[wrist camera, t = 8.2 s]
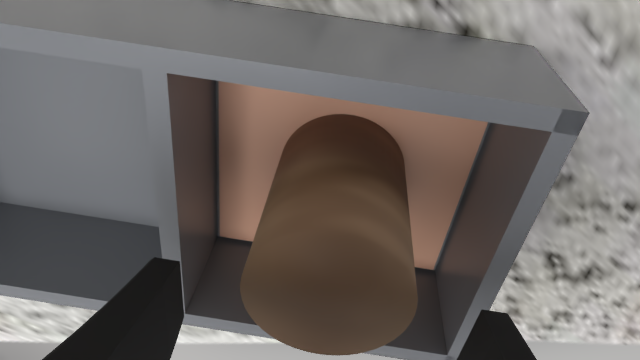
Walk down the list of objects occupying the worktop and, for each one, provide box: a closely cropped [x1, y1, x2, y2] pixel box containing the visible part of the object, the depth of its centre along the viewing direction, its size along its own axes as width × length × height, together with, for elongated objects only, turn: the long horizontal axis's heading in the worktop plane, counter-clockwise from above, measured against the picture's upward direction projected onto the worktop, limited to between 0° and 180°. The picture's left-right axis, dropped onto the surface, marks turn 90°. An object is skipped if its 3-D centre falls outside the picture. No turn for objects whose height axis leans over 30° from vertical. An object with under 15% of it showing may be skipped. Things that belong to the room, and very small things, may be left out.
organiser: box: [0, 0, 589, 360], centre depth 15 cm, size 20×10×4 cm, turn 83°
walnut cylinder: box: [240, 114, 418, 355], centre depth 14 cm, size 4×4×6 cm
